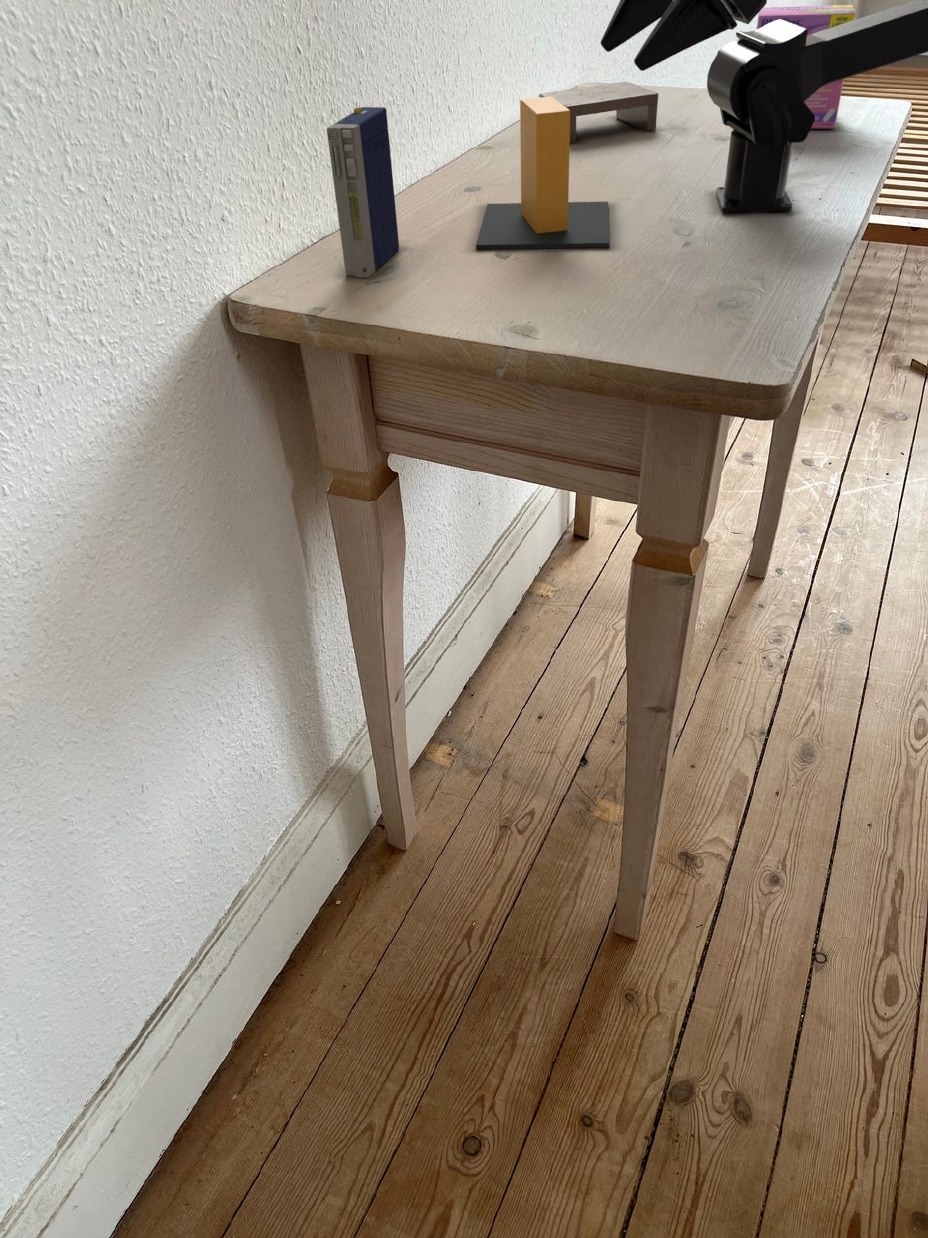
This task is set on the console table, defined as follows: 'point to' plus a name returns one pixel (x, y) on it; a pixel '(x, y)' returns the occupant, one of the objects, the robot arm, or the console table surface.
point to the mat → (514, 232)
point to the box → (814, 20)
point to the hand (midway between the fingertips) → (619, 56)
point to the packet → (544, 163)
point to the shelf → (610, 103)
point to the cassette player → (364, 189)
